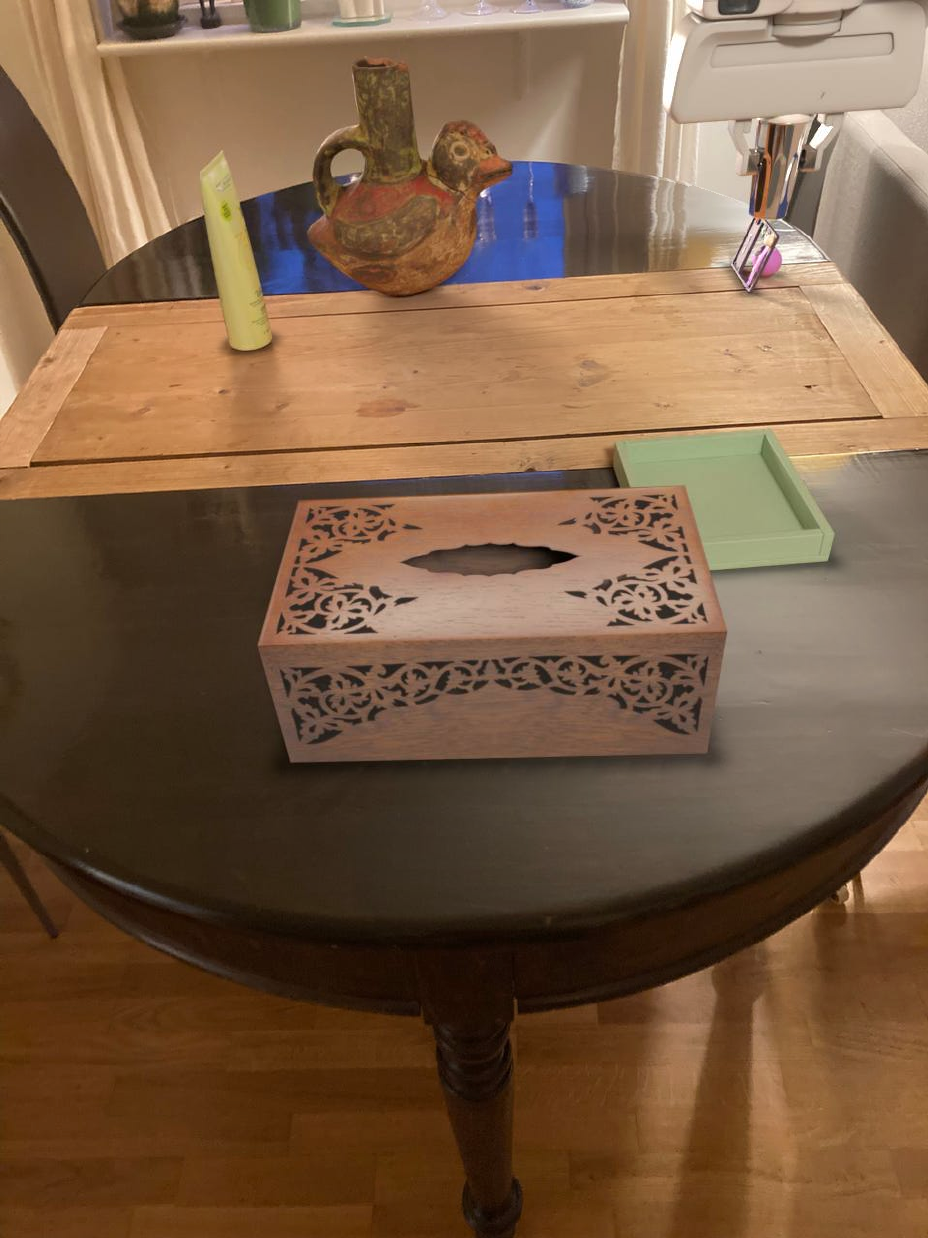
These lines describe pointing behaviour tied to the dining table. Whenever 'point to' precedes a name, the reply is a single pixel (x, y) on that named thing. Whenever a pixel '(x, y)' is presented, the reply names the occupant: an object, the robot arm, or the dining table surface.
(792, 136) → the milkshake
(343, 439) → the dining table surface
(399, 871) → the dining table surface
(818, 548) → the tray
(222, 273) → the tube
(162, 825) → the dining table surface
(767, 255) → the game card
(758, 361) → the dining table surface
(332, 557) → the tissue box cover
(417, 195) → the ceramic vessel
